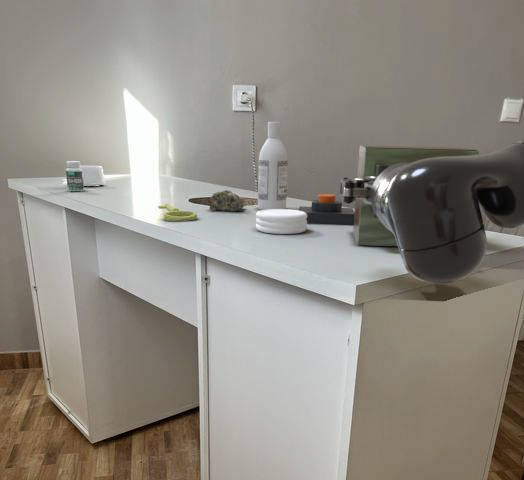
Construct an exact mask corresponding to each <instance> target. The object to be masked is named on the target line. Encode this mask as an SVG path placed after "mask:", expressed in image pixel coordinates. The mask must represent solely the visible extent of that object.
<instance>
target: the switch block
mask: <svg viewBox="0 0 524 480" xmlns="http://www.w3.org/2000/svg"><path fill="white" fill-rule="evenodd" d="M298 211H303V212H305V213H306V214H307V218H306V220H307V224H322V225H349V226H350V225H351V226H353V225H354V213H355V209H354V208H353V207H343V201H342V200H341V201H340V200H335V203H321V202H319V199H315V200H311V206H302V205H301V206H299V207H298Z"/></svg>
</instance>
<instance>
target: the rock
mask: <svg viewBox="0 0 524 480" xmlns="http://www.w3.org/2000/svg"><path fill="white" fill-rule="evenodd" d="M244 202H245V200H244V199H243V198H242V197H240V196H239V195H238V194H236V193H233V192H232V191H231V190H227V189H226V190H221V191H217V192H215V193H212V195H211V197H210V198H209V200H208V203H209V210H210V211H212V212H216V211H222V212H223V211H224V212H241V211H242V210H243V208H244Z"/></svg>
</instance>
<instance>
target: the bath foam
mask: <svg viewBox="0 0 524 480" xmlns="http://www.w3.org/2000/svg"><path fill="white" fill-rule="evenodd" d="M288 159H289V157H288V152H287V149H286V148H285V145H284V143H283V142H282V140H281V122H280V121H267V138H266V140H265V141H264V143H263V145H262V147H261V149H260V151H259V154H258V175H257V176H258V180H257V181H258V183H257V185H258V186H257V194H258V195H257V208H258V210H259V211H261V210H267V209H286V208H287V190H288V167H289V166H288V165H289V164H288V163H289V161H288Z"/></svg>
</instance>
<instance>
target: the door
mask: <svg viewBox="0 0 524 480" xmlns="http://www.w3.org/2000/svg"><path fill="white" fill-rule="evenodd" d="M476 154H480V151H479V150H477V151H460V150H418V149H375V148H365V159H364V171H363V179H365V177H366V176H377V177H378V176H379V175H380V174H381V173H382V172H383V171H384V170H385V169H386V168H388V167H390V166H392V165H394V164H398V163H412V162H415V161H418V160H422V159H427V158H434V157H446V156H467V155H476ZM356 244H357V246H375V247H398V245H397V241H396V238H395V236H394V234H393V233H392V232H391V231H390V230H388V229H387V228H386V227H385V226H384V225H383V224H382V223H381V221H380V220H379V218H378V217H377V216H376V214H375V212H374V210H373V208H372V205H370V204H365V203H364V202H363V200H362V199H361V207H360V219H359V231H358V243H357V242H356Z"/></svg>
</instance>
